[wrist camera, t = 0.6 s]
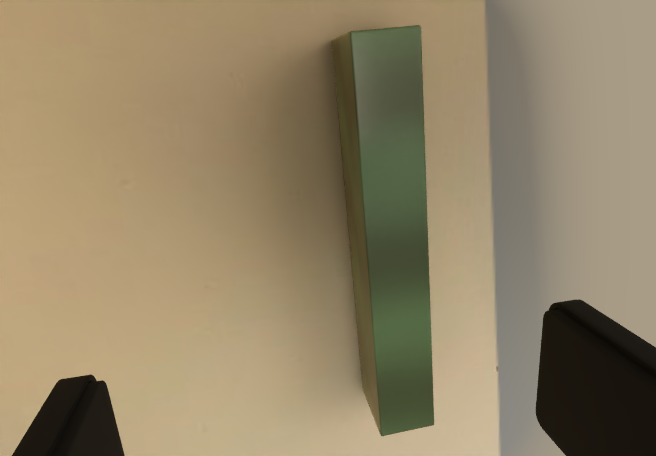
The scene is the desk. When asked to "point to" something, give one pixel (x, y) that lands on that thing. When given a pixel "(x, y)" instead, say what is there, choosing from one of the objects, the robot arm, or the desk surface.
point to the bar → (387, 219)
